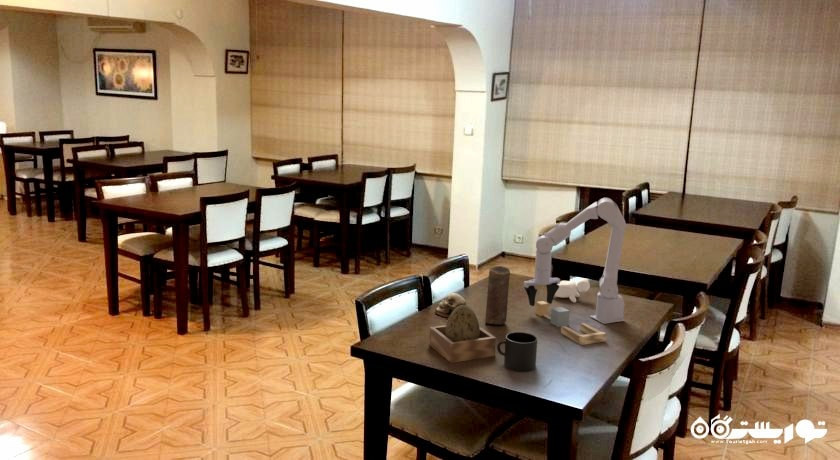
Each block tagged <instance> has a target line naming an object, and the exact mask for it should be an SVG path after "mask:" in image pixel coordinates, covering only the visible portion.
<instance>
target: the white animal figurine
mask: <svg viewBox="0 0 840 460" xmlns="http://www.w3.org/2000/svg"><path fill="white" fill-rule="evenodd" d="M557 285H559V289H558V290H557V292H556V293H555V295H554V297H556V298H557V297H558V298H563V299H565V298H567V299H568V298H569V300H570V301H571V302H572V303H576V302H577V298H580V296H581V295H580V294H579V293H583V292H587V291H588V290H589V289H590V287H591V283H590V281H589V280H588V279H586V278H582V279H579V280H578V281H577V283H576V282H575V281H574V280H560V284H557ZM578 291H579V292H578Z"/></svg>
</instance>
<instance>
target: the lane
mask: <svg viewBox="0 0 840 460" xmlns="http://www.w3.org/2000/svg"><path fill="white" fill-rule="evenodd" d="M579 331H580V332H582V333H584V334H581V333H579V332H577V331H575V330H573V329H572V328H570V327H569V326H561V327H560V334H562V335H564V336H565V337H567V338H569V339H570V340H571V341H574V342H576V344H580V345H581V346H584V345H589V344H596V343H597V344H598V343H603V342H606V340H607V339H606V337H607V333H606V332H604V331H600V330H598V329H596V328H594V327H593V326H591V325H589V324H586V323H580V326H579Z"/></svg>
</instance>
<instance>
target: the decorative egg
mask: <svg viewBox="0 0 840 460" xmlns="http://www.w3.org/2000/svg"><path fill="white" fill-rule="evenodd" d="M447 318H448V319H447V321H446V324H445V325H446V328H445V335H446V337H447V338H449V339H450V340H451V341H452V342H458V341H465V340H472V339H479V334H480V327H481V326H480V322H479V318H478V316H477V315H476V312H475V311H474V310H473V308H471V307H470V306H469V305H467V304H466V305H460V306H458V307H457V308H456V309H454V311H453V312H452V313H451V315H450V316H449V317H447Z"/></svg>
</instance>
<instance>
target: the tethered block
mask: <svg viewBox="0 0 840 460" xmlns="http://www.w3.org/2000/svg"><path fill="white" fill-rule="evenodd" d="M550 311H551V312H550V316H549V315H548V314H549V303H547V301H546V300H545V301H544V300H541V301H535V315H538V316H539V317H544V318H545V319H548V320H549V321H550V324H552V325H553V326H555V327H557V328H561V326H566V327H569V324H570V313H571V312H570V310H569V309H567V308H565V307H563V306H558V307H557V306H556V307H551V310H550Z"/></svg>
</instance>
